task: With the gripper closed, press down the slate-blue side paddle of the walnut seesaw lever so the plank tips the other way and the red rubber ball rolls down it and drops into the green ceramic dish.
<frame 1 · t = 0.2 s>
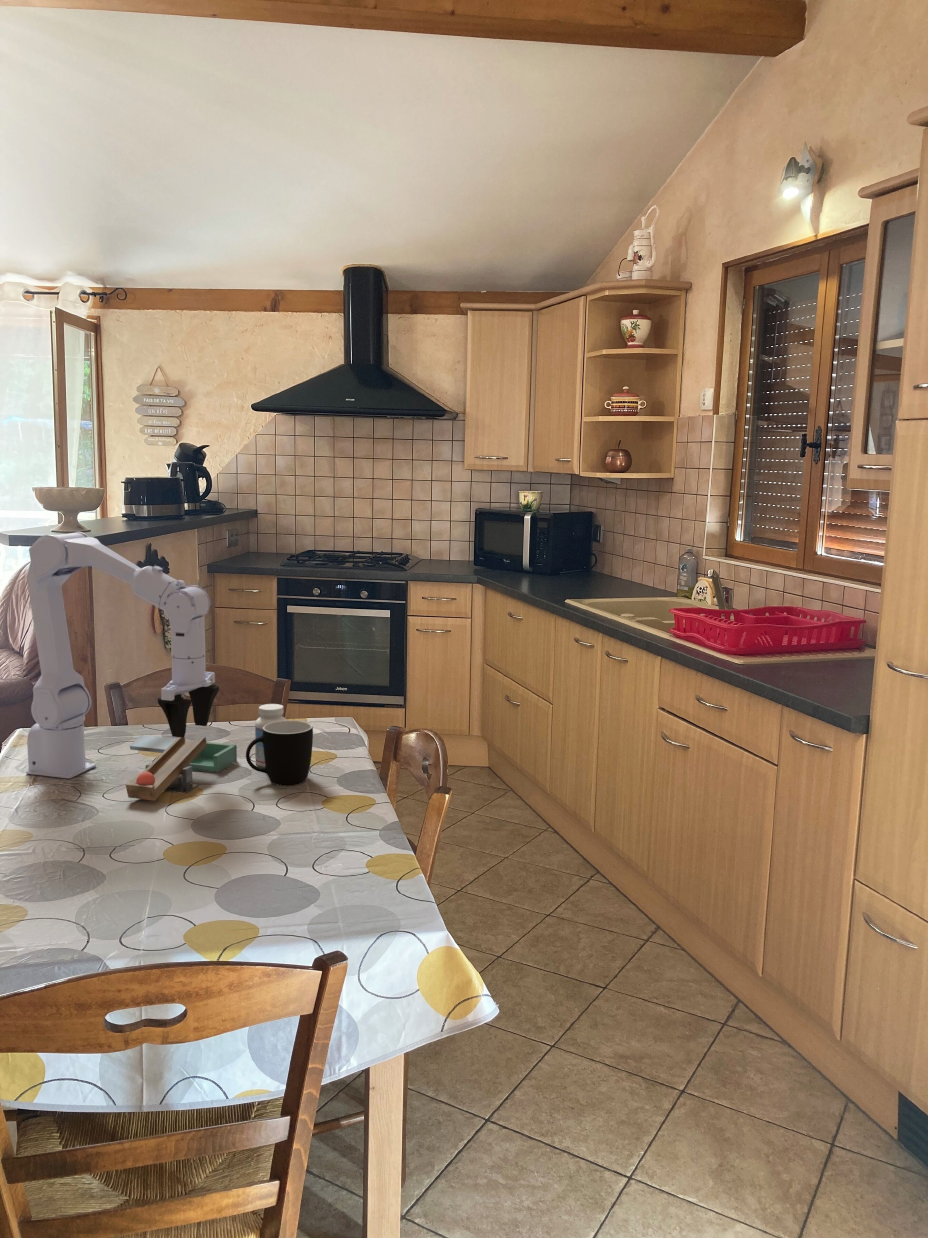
hand: (190, 730, 167), 10 cm above the table, fingers open, 7 cm apart
dish: (208, 764, 180), on the table
stand: (169, 787, 167), on the table
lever: (148, 763, 167), point 4 cm above the table, hinge at 15.0°, touching ball
ball: (145, 780, 160), point 4 cm above the table, tilted 22°, touching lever
mug: (279, 782, 171), on the table
pill bottle: (271, 764, 181), on the table
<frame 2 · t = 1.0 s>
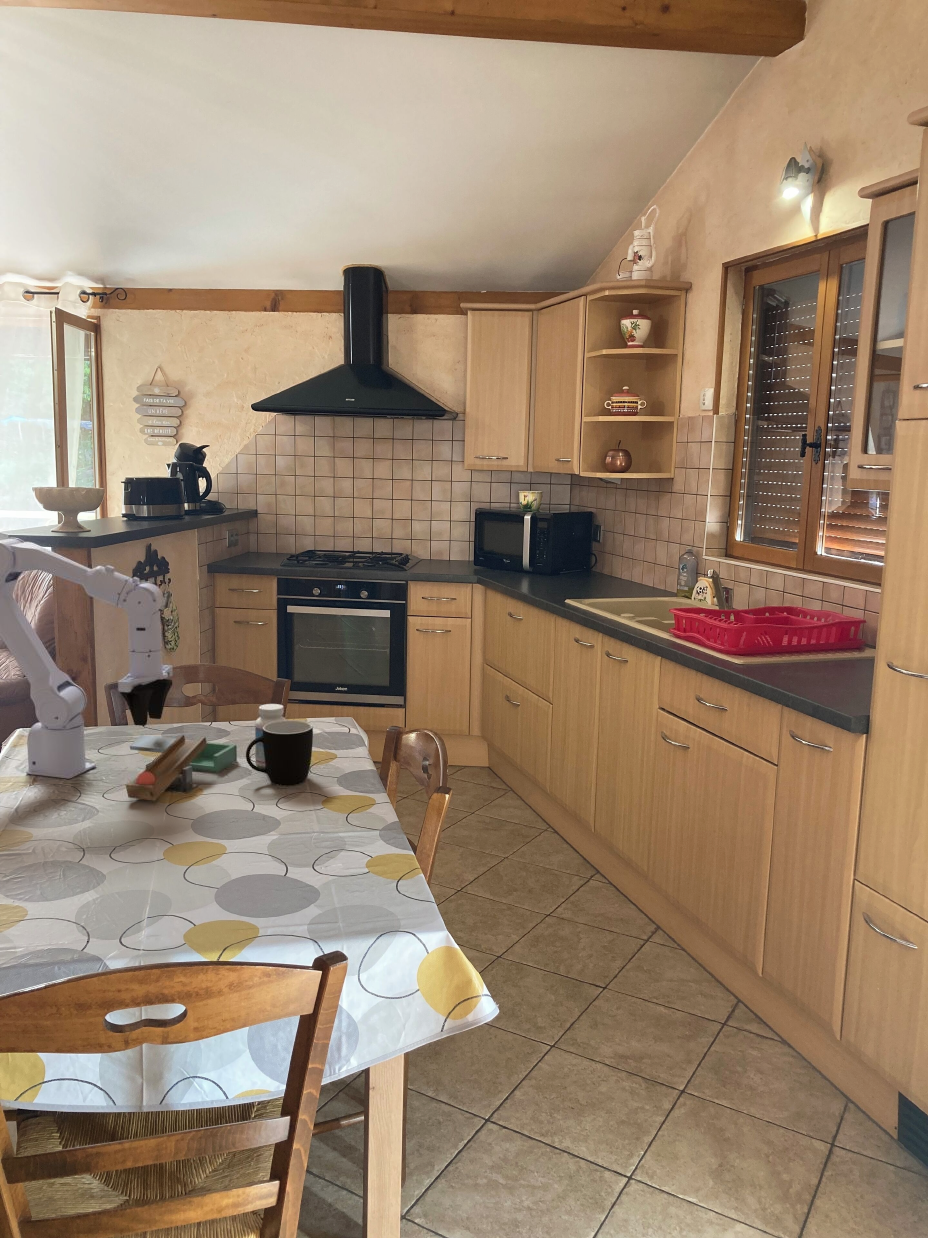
hand: (147, 721, 174), 9 cm above the table, fingers open, 4 cm apart
nothing on the table moved.
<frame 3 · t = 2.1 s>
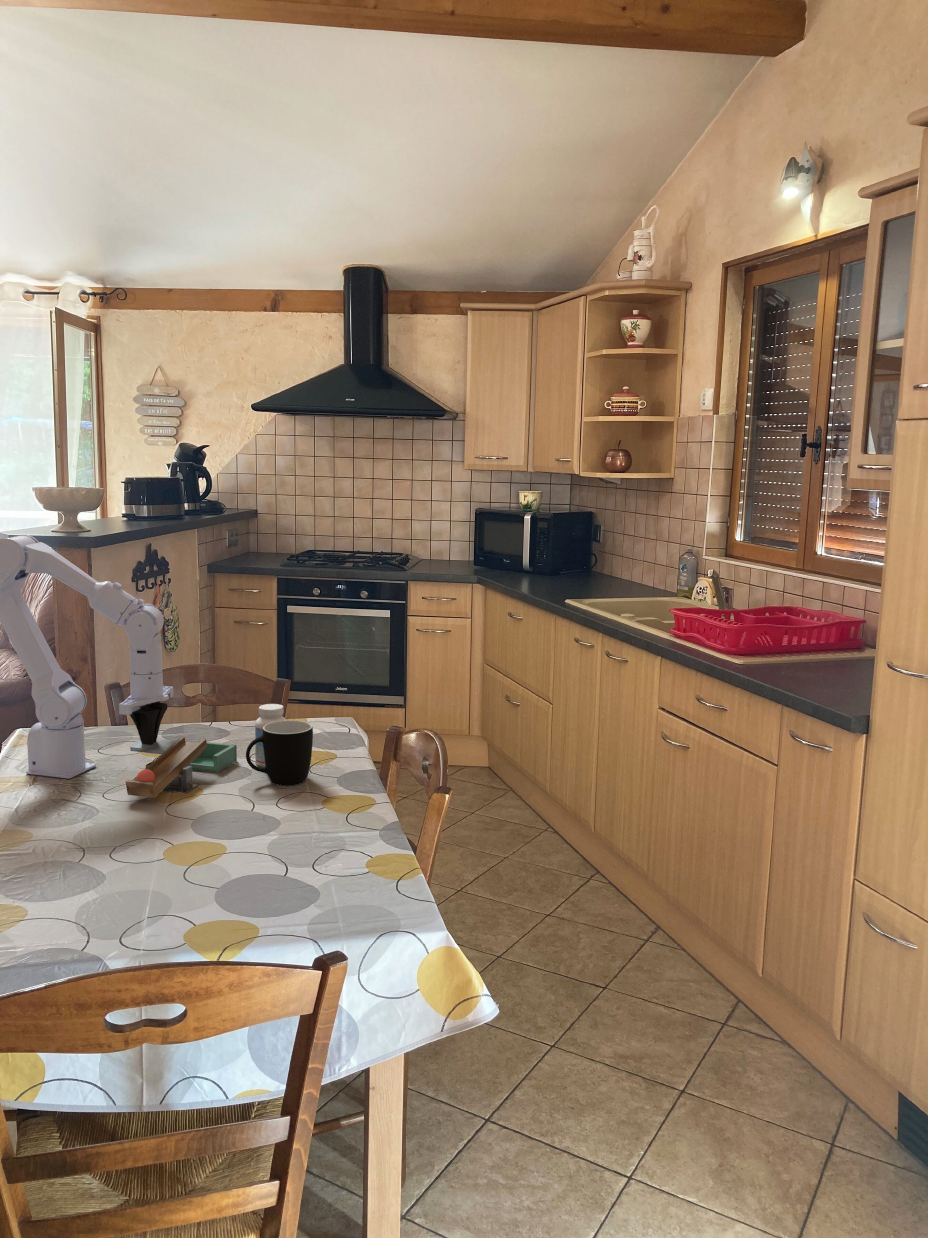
hand: (148, 743, 175), 5 cm above the table, fingers closed, pressing on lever
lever: (148, 763, 167), point 4 cm above the table, hinge at 11.6°, touching ball, gripper
ball: (145, 778, 159), point 4 cm above the table, tilted 16°, touching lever
everything else where it was.
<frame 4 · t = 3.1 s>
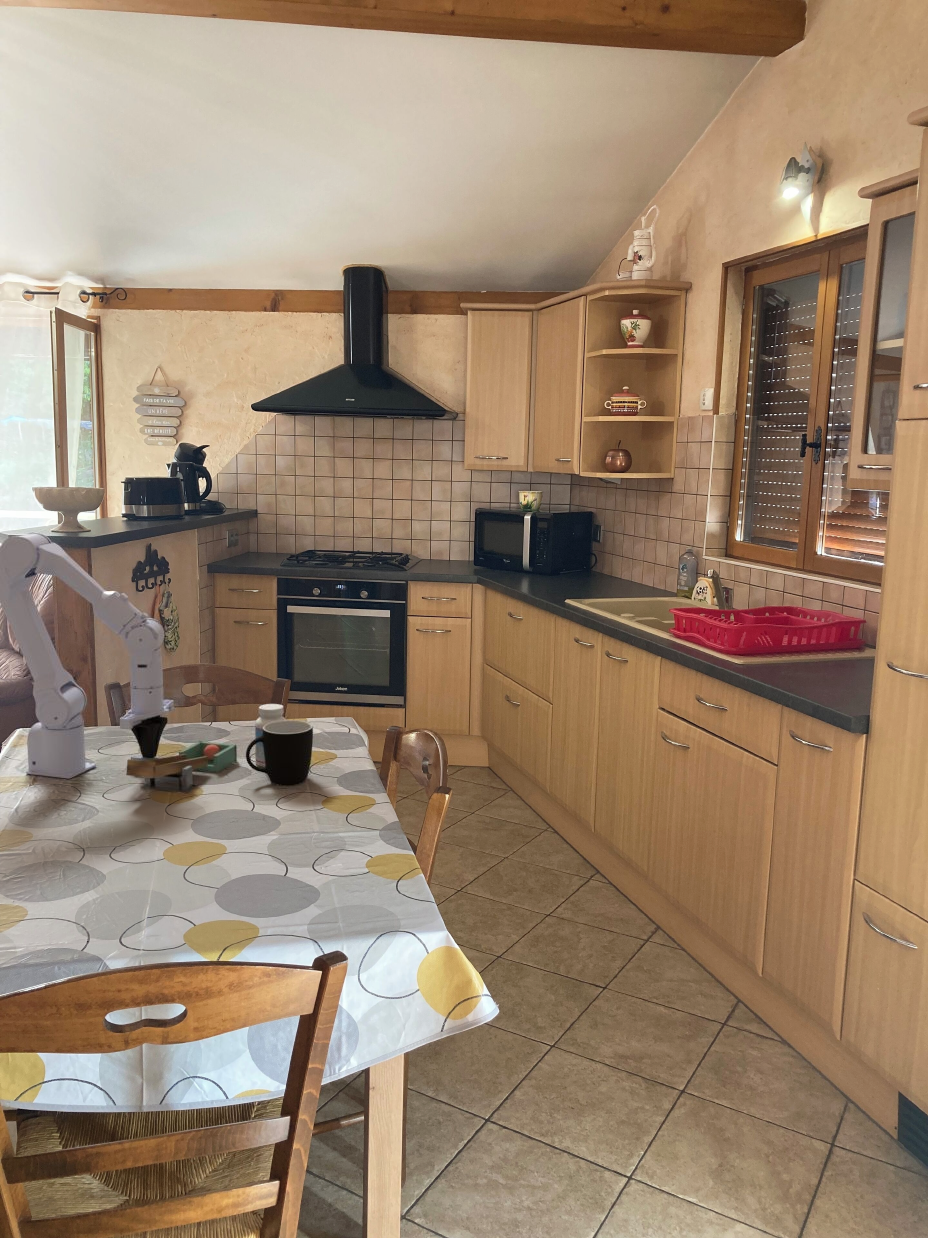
hand: (149, 757, 175), 3 cm above the table, fingers closed
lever: (149, 762, 167), point 4 cm above the table, hinge at -11.0°, touching gripper
ball: (211, 752, 181), point 2 cm above the table, tilted 129°
everything else where it was.
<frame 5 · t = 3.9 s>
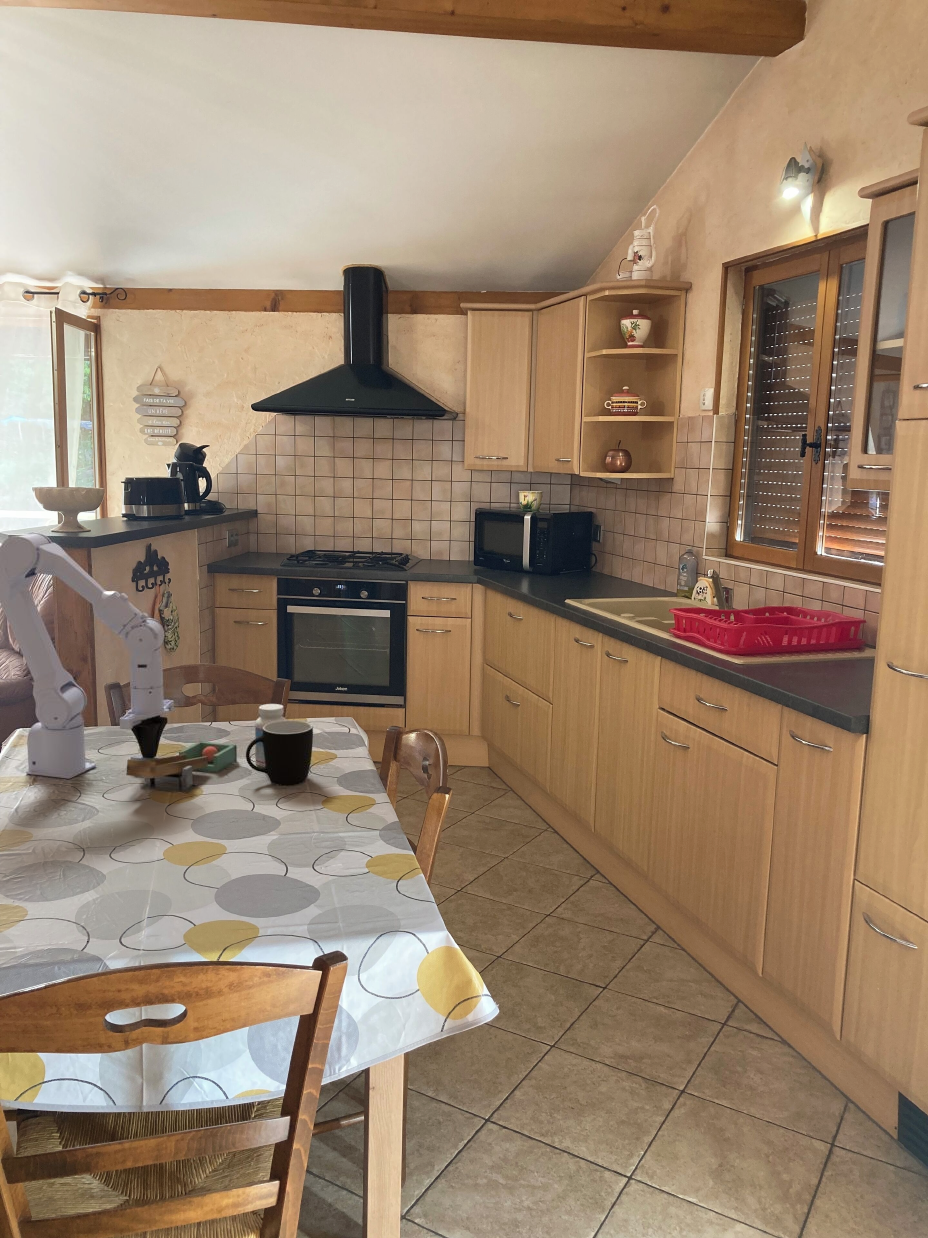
hand: (149, 757, 175), 3 cm above the table, fingers closed
ball: (210, 754, 180), point 2 cm above the table, tilted 152°, touching dish
everything else where it was.
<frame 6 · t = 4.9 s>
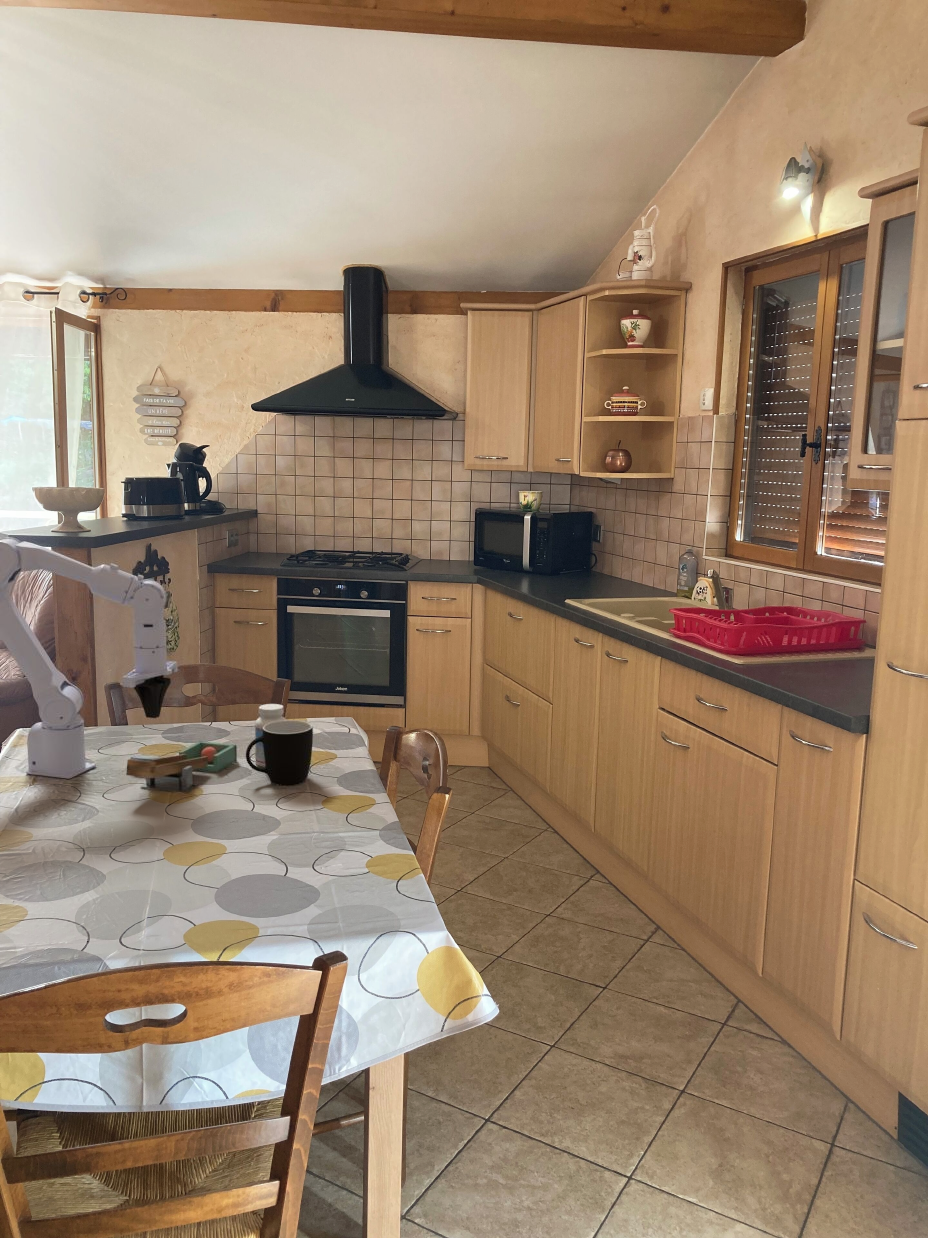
hand: (152, 717, 177), 10 cm above the table, fingers closed
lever: (149, 762, 167), point 4 cm above the table, hinge at -11.0°
ball: (209, 755, 180), point 2 cm above the table, tilted 139°, touching dish
everything else where it was.
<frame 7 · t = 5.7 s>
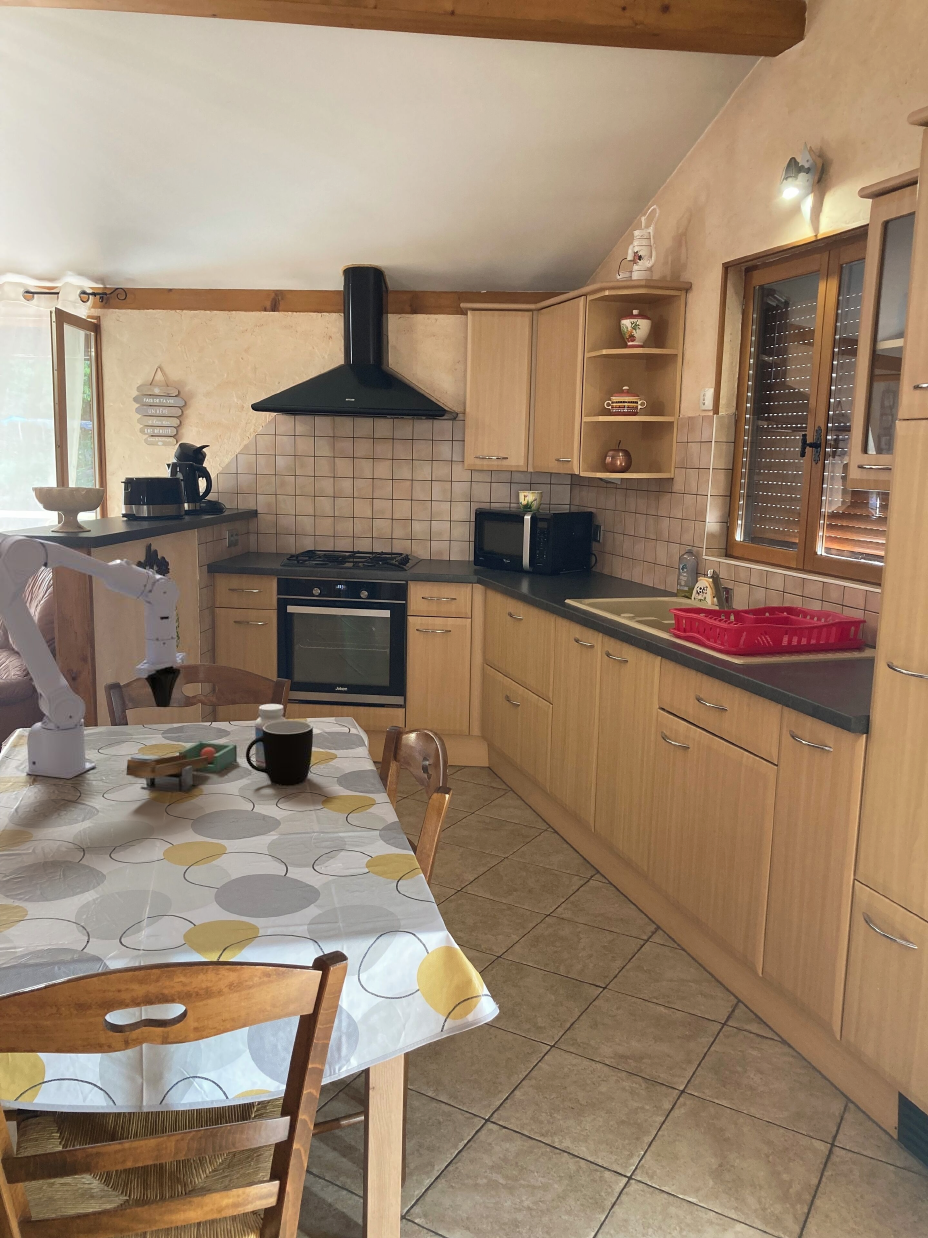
hand: (162, 706, 183), 10 cm above the table, fingers closed
ball: (208, 755, 180), point 2 cm above the table, tilted 128°, touching dish
everything else where it was.
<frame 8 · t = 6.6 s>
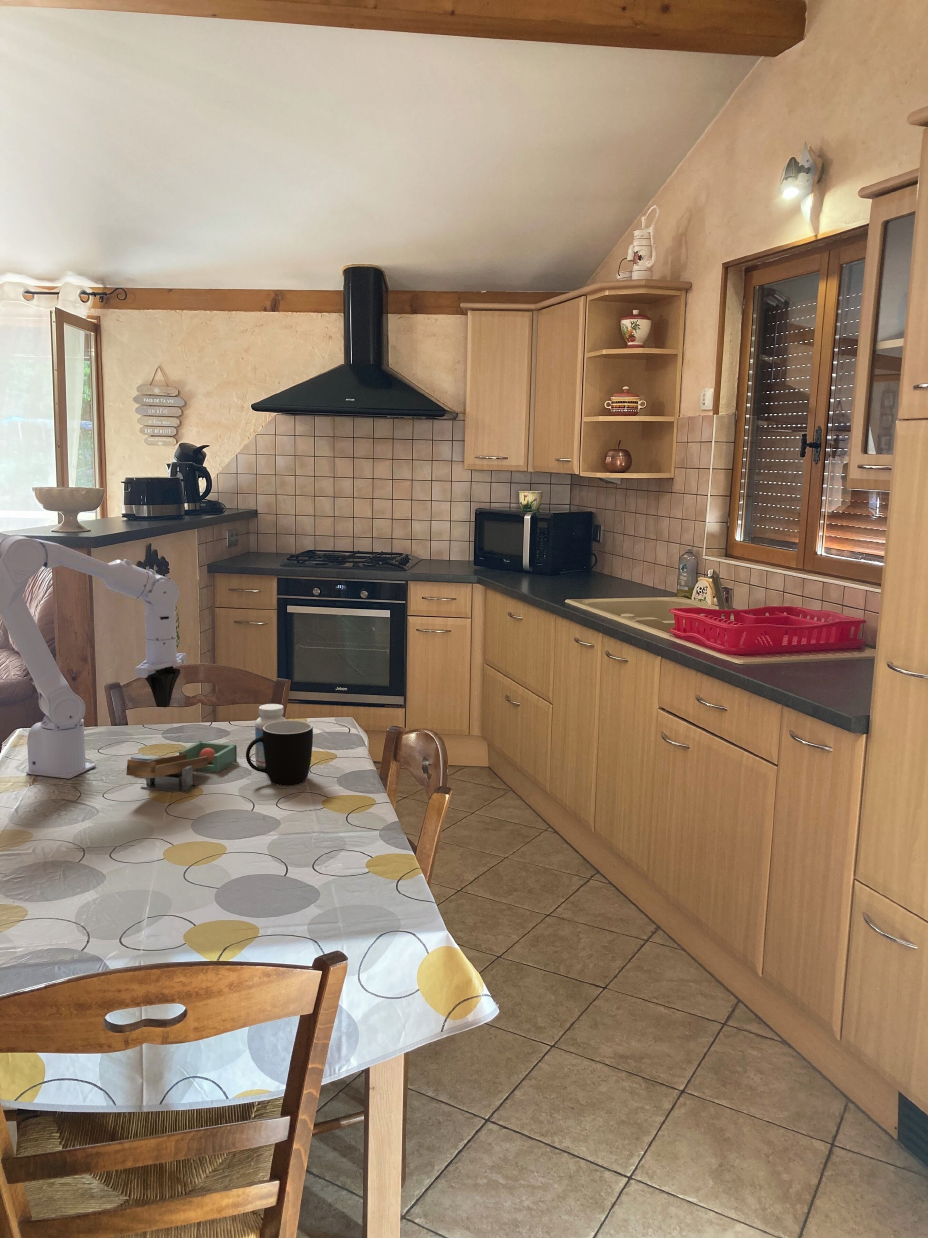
hand: (162, 706, 183), 10 cm above the table, fingers closed
ball: (207, 755, 179), point 2 cm above the table, tilted 116°, touching dish
everything else where it was.
at the end: ball 0.1 cm off-centre on the dish, point 1.8 cm above the dish's base; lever at -11° (first picture: +15°) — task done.
